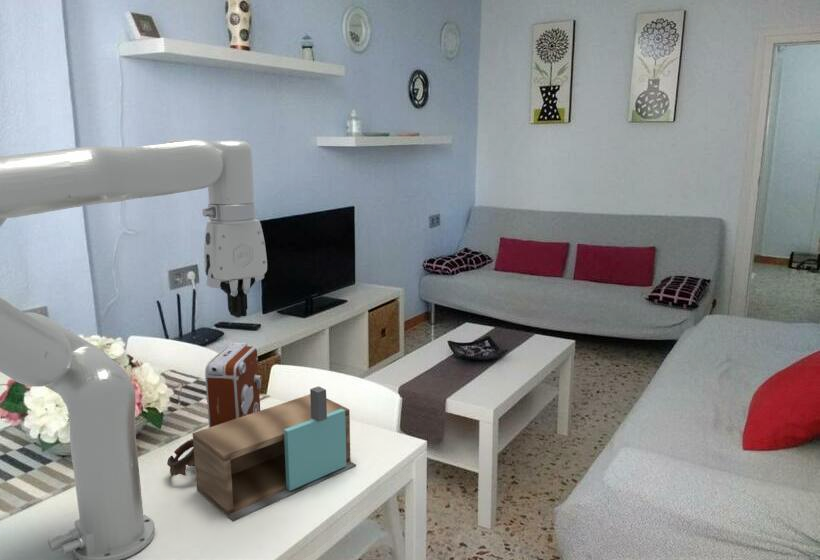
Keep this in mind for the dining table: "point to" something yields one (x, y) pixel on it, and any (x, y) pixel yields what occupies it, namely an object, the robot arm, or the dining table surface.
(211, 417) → the cine camera
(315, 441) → the door
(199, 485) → the cabinet
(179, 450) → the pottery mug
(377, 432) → the dining table surface
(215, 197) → the robot arm
